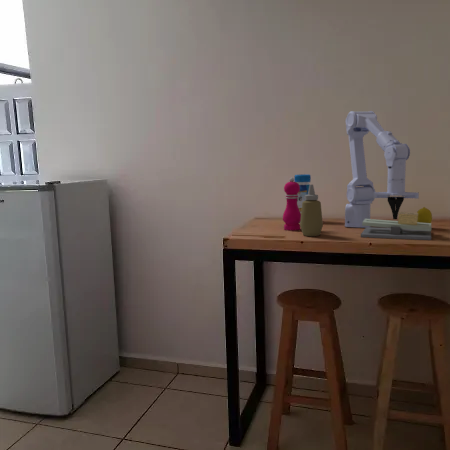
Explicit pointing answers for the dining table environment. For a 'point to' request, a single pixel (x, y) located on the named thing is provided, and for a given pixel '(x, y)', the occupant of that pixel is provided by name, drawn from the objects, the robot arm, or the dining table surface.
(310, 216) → the squeeze bottle
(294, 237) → the dining table surface
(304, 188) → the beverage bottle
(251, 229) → the dining table surface
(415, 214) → the tan block
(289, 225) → the pepper mill
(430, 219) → the lemon
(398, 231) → the pivot stand
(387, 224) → the beam
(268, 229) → the dining table surface
